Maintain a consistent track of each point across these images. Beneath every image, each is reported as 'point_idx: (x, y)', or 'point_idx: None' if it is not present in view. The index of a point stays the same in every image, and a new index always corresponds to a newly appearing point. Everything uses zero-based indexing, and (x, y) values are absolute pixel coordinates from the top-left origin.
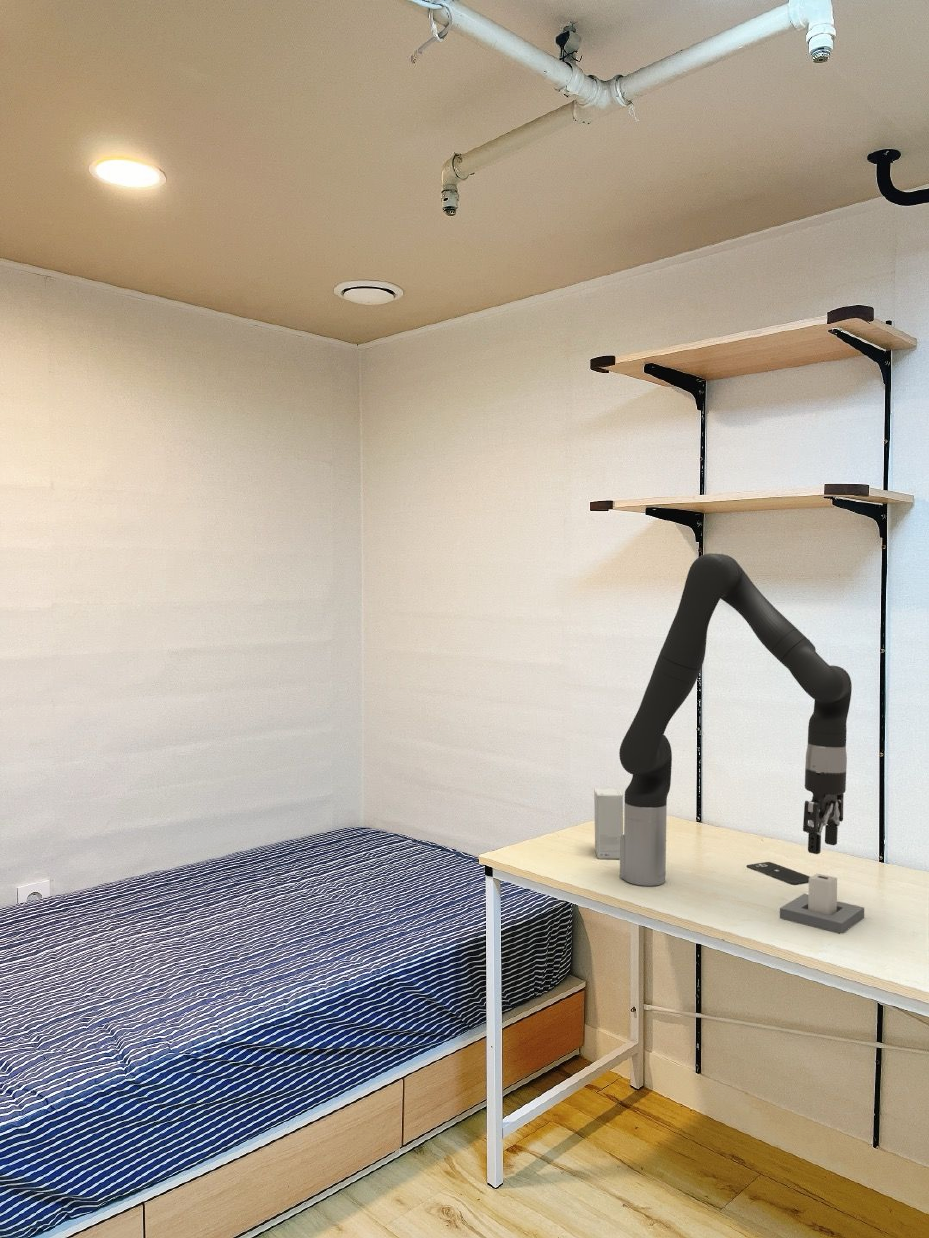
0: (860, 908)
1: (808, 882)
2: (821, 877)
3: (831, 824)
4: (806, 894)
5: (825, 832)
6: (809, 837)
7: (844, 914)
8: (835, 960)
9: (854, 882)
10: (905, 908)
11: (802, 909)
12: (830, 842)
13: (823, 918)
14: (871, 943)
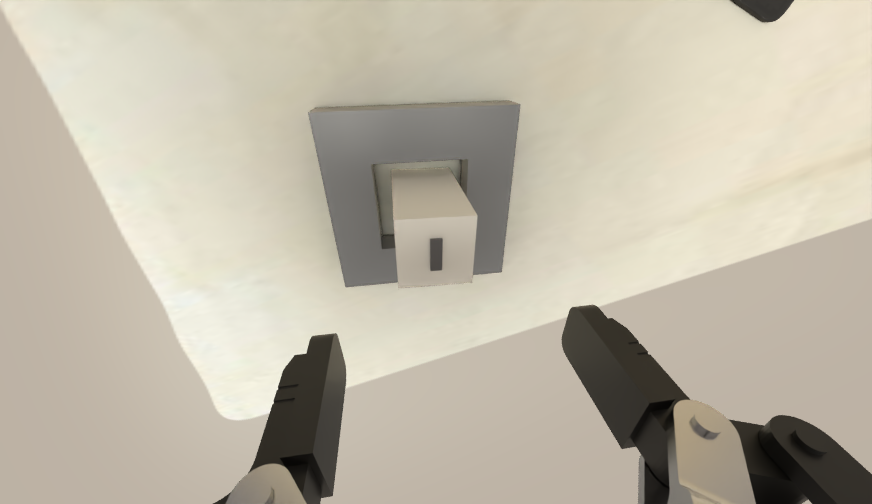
0: (488, 269)
1: (739, 5)
2: (430, 251)
3: (649, 442)
4: (514, 114)
5: (612, 355)
6: (261, 446)
7: None
8: (189, 325)
9: (777, 128)
10: (607, 285)
11: (360, 174)
12: (570, 334)
13: (339, 246)
14: (348, 325)
